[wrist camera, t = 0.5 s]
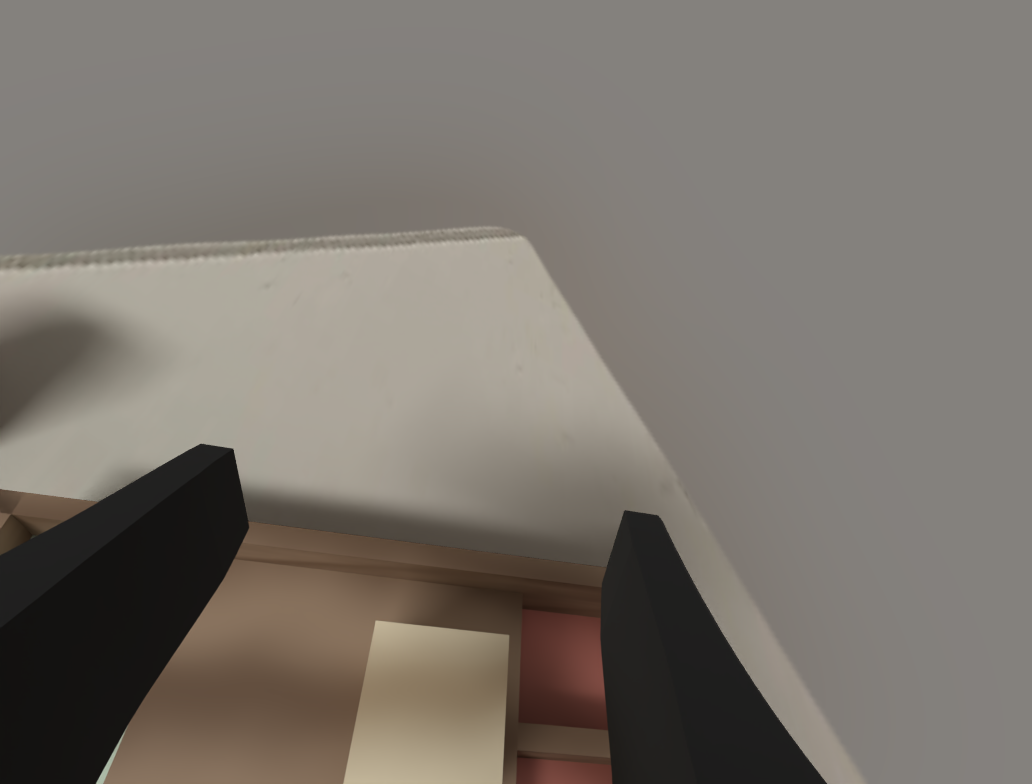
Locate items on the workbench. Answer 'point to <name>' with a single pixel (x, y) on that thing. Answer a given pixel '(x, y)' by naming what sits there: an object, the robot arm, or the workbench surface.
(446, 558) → the long open wooden box
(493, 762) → the block
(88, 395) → the workbench surface
